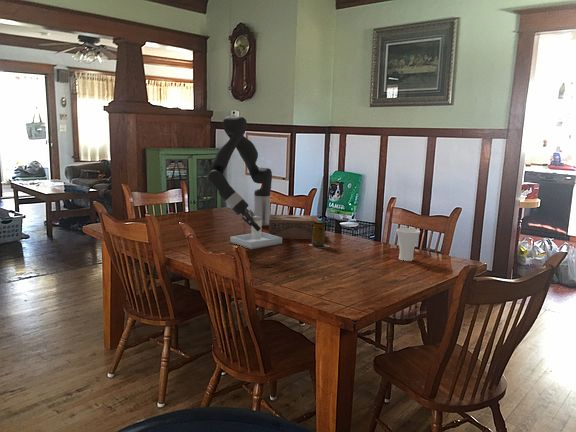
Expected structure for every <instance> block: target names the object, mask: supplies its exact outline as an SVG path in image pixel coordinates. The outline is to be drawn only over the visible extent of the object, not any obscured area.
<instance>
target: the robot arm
mask: <svg viewBox="0 0 576 432" xmlns="http://www.w3.org/2000/svg"><path fill="white" fill-rule="evenodd" d="M222 127H223V131H224V132H225V134H226V135H227V136H228V138H229V139H228V140H227V141H226V142H225V143H224V144H223V145H222V146H220V148H219V149H218V150H217V153H216V154H215V156H214V159H213V162H212V165H211V168H210V169H209V171H208V174H207V175H206V178H205V183H206V185H207V186H208V187H209V188H215V189H217V192H218V195H219V196H220V197H221V199H222V200H223V201H224V202H225V203H226V204H227V205H228V207H229V208H230V209H231V210H232V211H233V212H234V214H235V215H236V216H239V215H241V216H242V217H241V219H242V220H243V221H244V222H246V223H247V224H248V225H249V226H250V227H251V226H253V227H254V228H255V229H256V230H257V231H259V230H260V229H261V228H260V227H259V226H258V224H257V223H256V222H255V221H254V218H253V217H252V216H261V217H262V228H263V226H264V227H265V226H269V216H270V215H272V208H271V191H272V180H273V172H272V169H270V168H268V167H259V166H258V165H257V164H256V163H257V160H258V159H259V152H258V150H257V147H256V146H255V144H254V143H253V142H252V141H251V140H250V139H248V138H247V137H245V136H244V135H245V134H246V132H247V131H246V130H247V128H248V123H247V119H245V117H243V116H233V115H230V116H225V118H224V119H223V120H222ZM235 149H236V150H237V152H238V153H239V156H240V157H241V159H242V160H243V163H244V165H245V166H246V168H247V171H248V173H249V175H250V178H251V180H252V181H253V182H254V184H255V183H256V184H260V185H261V184H262V187H261V188H258V189H255V190H254V195H253V197H254V198H253V199H254V200H253V211H252V210H251V209H248V208H249V204H248V202H246V200H245V199H244V198H243V197H242V196H241V195H240V193H237V191H236V190H235V189H234V188H233V187H232V186H231V185H230V184H229V182H228V180H227V179H226V177H225V176H224V172H225V171H226V168H227V167H228V165H229V162H230V160H231V157H232V156H233V153H234V151H235Z"/></svg>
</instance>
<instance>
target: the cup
mask: <svg viewBox="0 0 576 432" xmlns="http://www.w3.org/2000/svg"><path fill="white" fill-rule="evenodd" d="M420 233H421V231H420V229H415V228H412V227H411V228H409V227H400V228H399V227H398V228H397V229H396V234H397V238H398V244H399V254H398V260H400V261H403V260H404V261H403V262H412V260H413V261H414V252H415V247H416V243H417V241H418V239H419V236H420Z"/></svg>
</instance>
